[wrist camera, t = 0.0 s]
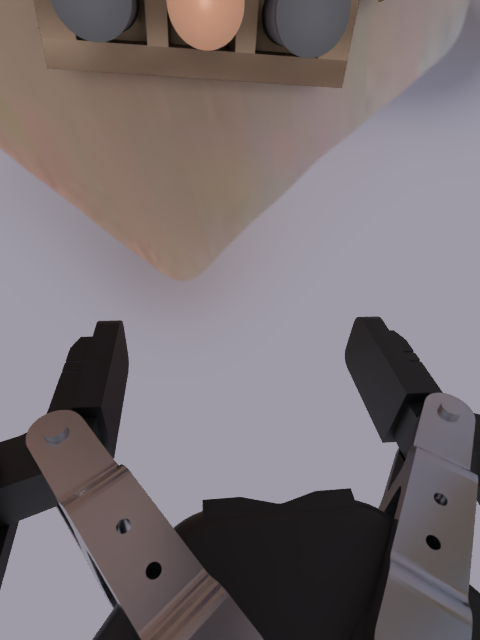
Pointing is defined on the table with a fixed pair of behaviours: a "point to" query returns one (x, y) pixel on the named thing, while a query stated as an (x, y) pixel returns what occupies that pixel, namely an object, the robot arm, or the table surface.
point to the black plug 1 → (97, 17)
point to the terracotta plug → (206, 21)
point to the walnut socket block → (191, 50)
